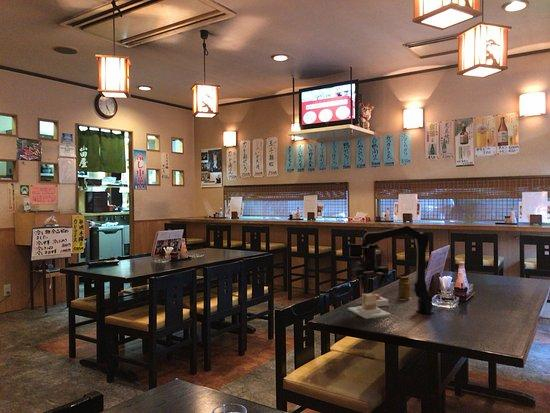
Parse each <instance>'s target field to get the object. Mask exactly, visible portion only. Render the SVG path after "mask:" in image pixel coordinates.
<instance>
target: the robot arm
mask: <svg viewBox="0 0 550 413" xmlns="http://www.w3.org/2000/svg"><path fill="white" fill-rule="evenodd" d="M403 235H408V236H409V237H411V238H413V239H414V243H415V247H416V274H415V276H416V278H415V280H414V281H412V288H411V290H412V291H413V292H412V293H413V294H414V295H415V296H416V297H417V309H416V310H415V313H419V314H421V315H429V314H430V315H431V314H434V313H435V312H434V311H432V300H433V297H432V296H431V295H430V294H429V293H428V289H427V288H428V287H427V283H426V259H427V258H426V253H427V249H428V247H429V242H430V237H429V236H428V234H426V233H424V232H421V231H420V232H418V231H417V230H416V229H414V228H412V227H410V226H409V225H406V224H405V225H403V226H400V227H395V228H391V229H387V230H382V231H367V232H366V233H365V234H364V236H363V239H362V241H361V242H360V243H356V244H355V243H349V250H348V251H349V253H348V254H349V258H362V256H363V259H362V261H360V260H358V261H357V260H356V261H355V264H354V266H355V268H352V269H351V272H350V274H351V275H353V276H354V277H356V279H357V281H358V282H359V286H360V288H361V290H364V286H365V276H364V274H373V273H375V274H376V286H377V288H378V289H379V288H380V286H381V285H382V282H383V280H384V279H385V277H386V276H387V275H388V274H390V269H389V268H388V267H386V266H377V262H378V259H377V257H376V256H377V255H376V254H377V252H376V251H377V250H376V249H378V250H379V249H380V246H378V244H377V243H379V242H380V241H383V240H385V239H389V238H394V237H397V236H403Z"/></svg>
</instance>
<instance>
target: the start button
mask: <svg viewBox="0 0 550 413" xmlns="http://www.w3.org/2000/svg"><path fill="white" fill-rule="evenodd" d="M373 294H374V295H376V300H380V297H381V295H380V294H379V293H378V294H377V293H373Z"/></svg>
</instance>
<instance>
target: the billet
mask: <svg viewBox="0 0 550 413" xmlns="http://www.w3.org/2000/svg"><path fill="white" fill-rule="evenodd" d="M374 294H375V293H371V292H370V293H361V306H362V308H364V309H366V310H371V309H376V295H374Z"/></svg>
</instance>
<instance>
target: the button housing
mask: <svg viewBox="0 0 550 413" xmlns="http://www.w3.org/2000/svg"><path fill="white" fill-rule="evenodd" d="M389 304H390V302H389V299H388V298H385V297H382V296H380V300H376V307H378V308H380V307H386V306H387V307H388V306H389Z"/></svg>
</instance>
